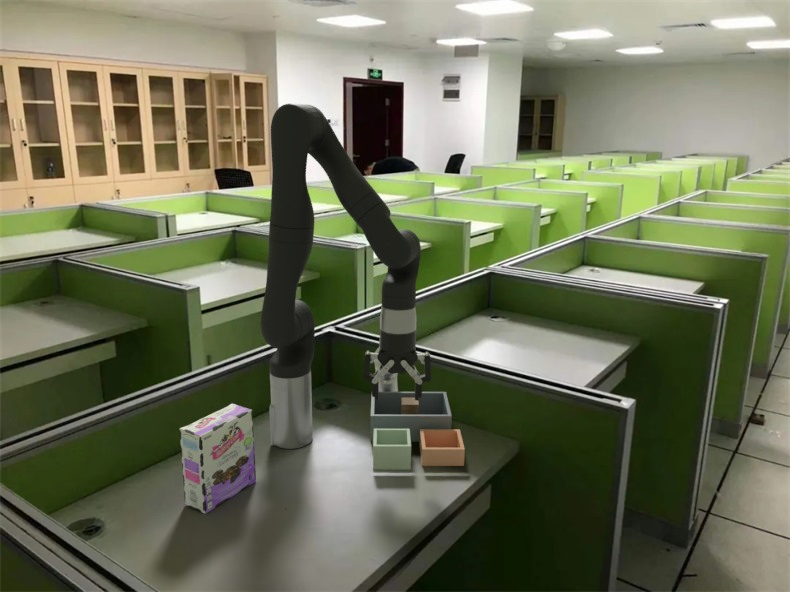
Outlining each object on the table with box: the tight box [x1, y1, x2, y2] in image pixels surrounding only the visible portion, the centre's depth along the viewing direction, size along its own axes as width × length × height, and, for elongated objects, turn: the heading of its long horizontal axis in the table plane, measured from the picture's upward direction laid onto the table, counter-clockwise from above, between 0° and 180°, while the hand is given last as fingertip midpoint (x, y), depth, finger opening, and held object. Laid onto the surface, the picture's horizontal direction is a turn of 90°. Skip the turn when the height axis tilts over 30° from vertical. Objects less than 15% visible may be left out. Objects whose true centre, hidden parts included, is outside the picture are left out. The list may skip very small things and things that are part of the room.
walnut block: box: [401, 398, 419, 415], centre depth 150 cm, size 4×4×7 cm
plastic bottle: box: [373, 340, 399, 392], centre depth 159 cm, size 6×7×20 cm
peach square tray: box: [419, 428, 466, 467], centre depth 138 cm, size 9×9×4 cm
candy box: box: [179, 403, 257, 515], centre depth 122 cm, size 14×6×16 cm, turn 148°
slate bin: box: [370, 391, 453, 443], centre depth 150 cm, size 19×14×7 cm
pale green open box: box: [372, 429, 412, 470], centre depth 136 cm, size 8×8×6 cm
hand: (396, 398), depth 134 cm, fingers open, 8 cm apart
